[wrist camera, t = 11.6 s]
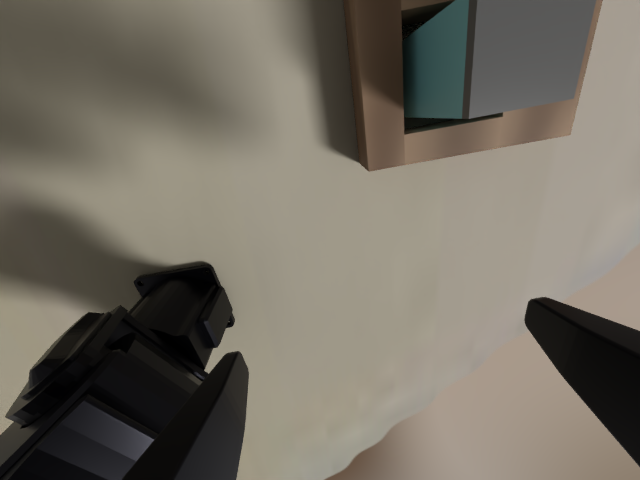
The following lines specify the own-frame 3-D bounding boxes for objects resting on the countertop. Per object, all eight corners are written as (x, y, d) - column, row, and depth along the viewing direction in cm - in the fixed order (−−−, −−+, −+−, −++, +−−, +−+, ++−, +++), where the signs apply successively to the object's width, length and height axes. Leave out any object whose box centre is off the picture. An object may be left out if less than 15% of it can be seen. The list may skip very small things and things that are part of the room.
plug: (400, 117, 17) (468, 118, 10) (398, 44, 15) (478, -18, 8) (460, 105, 17) (573, 98, 10) (465, 30, 15) (606, -45, 8)
